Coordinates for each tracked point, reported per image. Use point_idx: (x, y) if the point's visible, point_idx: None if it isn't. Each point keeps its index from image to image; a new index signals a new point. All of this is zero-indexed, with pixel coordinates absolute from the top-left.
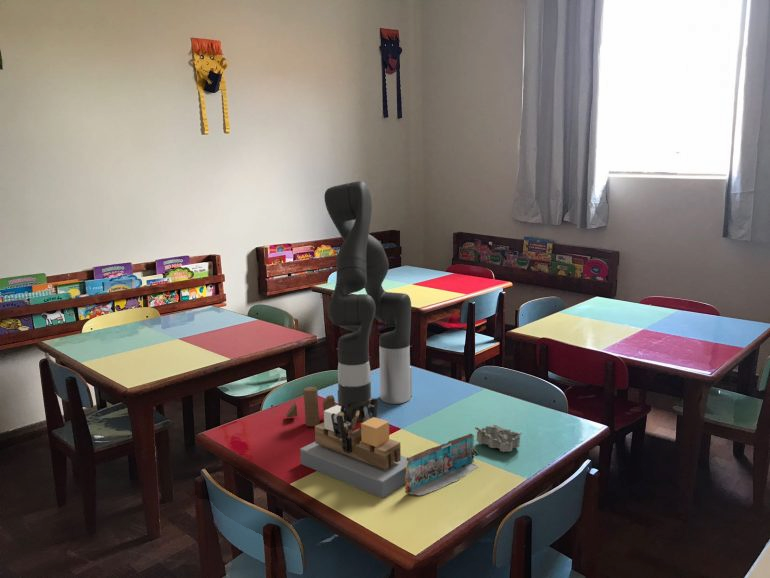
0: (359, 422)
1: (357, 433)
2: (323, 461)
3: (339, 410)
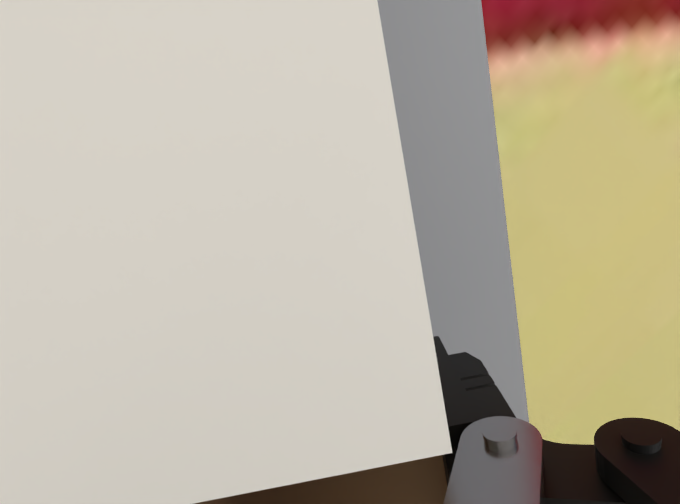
0: (450, 476)
1: (319, 491)
2: None
3: (138, 309)
